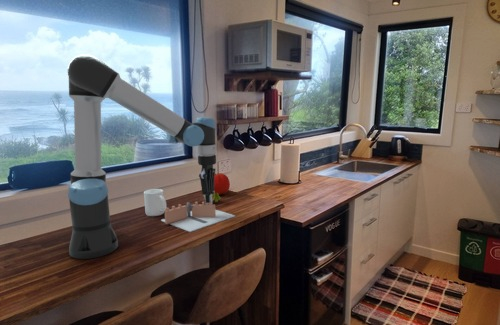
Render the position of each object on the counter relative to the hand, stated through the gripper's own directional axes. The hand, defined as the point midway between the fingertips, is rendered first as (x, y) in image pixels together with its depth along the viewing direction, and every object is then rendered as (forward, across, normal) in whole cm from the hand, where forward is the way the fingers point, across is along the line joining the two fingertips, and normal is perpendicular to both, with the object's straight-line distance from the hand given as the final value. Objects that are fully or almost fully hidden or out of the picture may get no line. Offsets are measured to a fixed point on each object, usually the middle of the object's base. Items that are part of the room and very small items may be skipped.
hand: (209, 209), depth 149 cm
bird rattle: (+4, +20, +7) cm, 21 cm away
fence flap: (+3, -2, +2) cm, 4 cm away
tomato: (+4, +35, +10) cm, 37 cm away
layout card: (+3, -3, +4) cm, 6 cm away
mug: (+4, -1, +24) cm, 24 cm away
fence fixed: (+3, -8, +11) cm, 14 cm away
